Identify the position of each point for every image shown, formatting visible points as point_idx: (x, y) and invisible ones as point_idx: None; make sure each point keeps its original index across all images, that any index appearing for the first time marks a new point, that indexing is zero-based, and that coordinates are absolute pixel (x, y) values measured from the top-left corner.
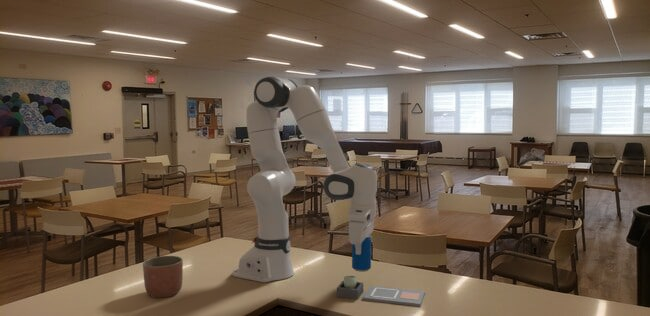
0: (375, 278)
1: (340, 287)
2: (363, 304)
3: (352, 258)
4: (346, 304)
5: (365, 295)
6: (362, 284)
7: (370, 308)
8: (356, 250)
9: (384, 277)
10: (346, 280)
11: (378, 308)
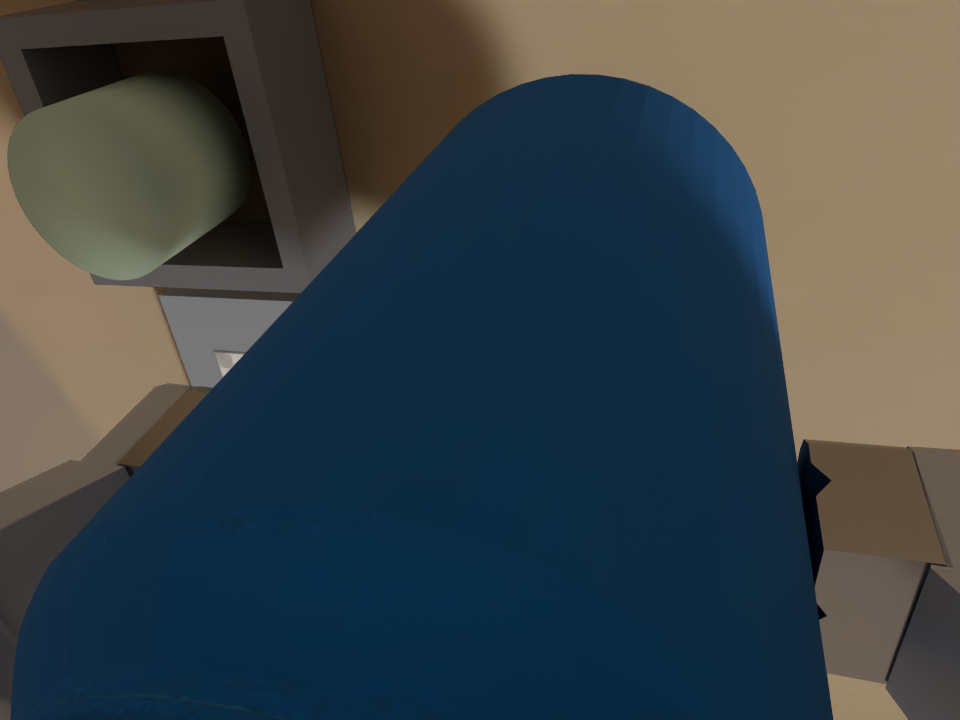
0: (870, 292)
1: (24, 67)
2: (102, 309)
3: (419, 171)
4: (7, 171)
5: (211, 311)
6: (279, 288)
7: (78, 370)
8: (118, 451)
9: (931, 390)
10: (19, 165)
11: (114, 419)
